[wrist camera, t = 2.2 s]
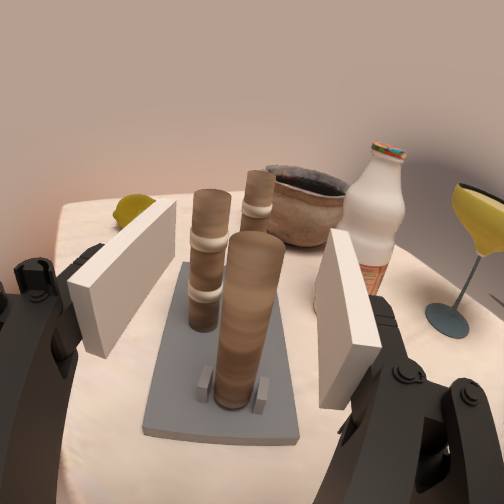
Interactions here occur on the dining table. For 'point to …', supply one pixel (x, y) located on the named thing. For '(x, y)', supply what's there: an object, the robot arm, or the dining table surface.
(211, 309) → the banded post middle
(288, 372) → the board
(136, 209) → the lemon
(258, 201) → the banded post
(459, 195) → the cocktail glass
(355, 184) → the fruit juice
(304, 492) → the dining table surface
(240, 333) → the plain post
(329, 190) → the ceramic bowl
